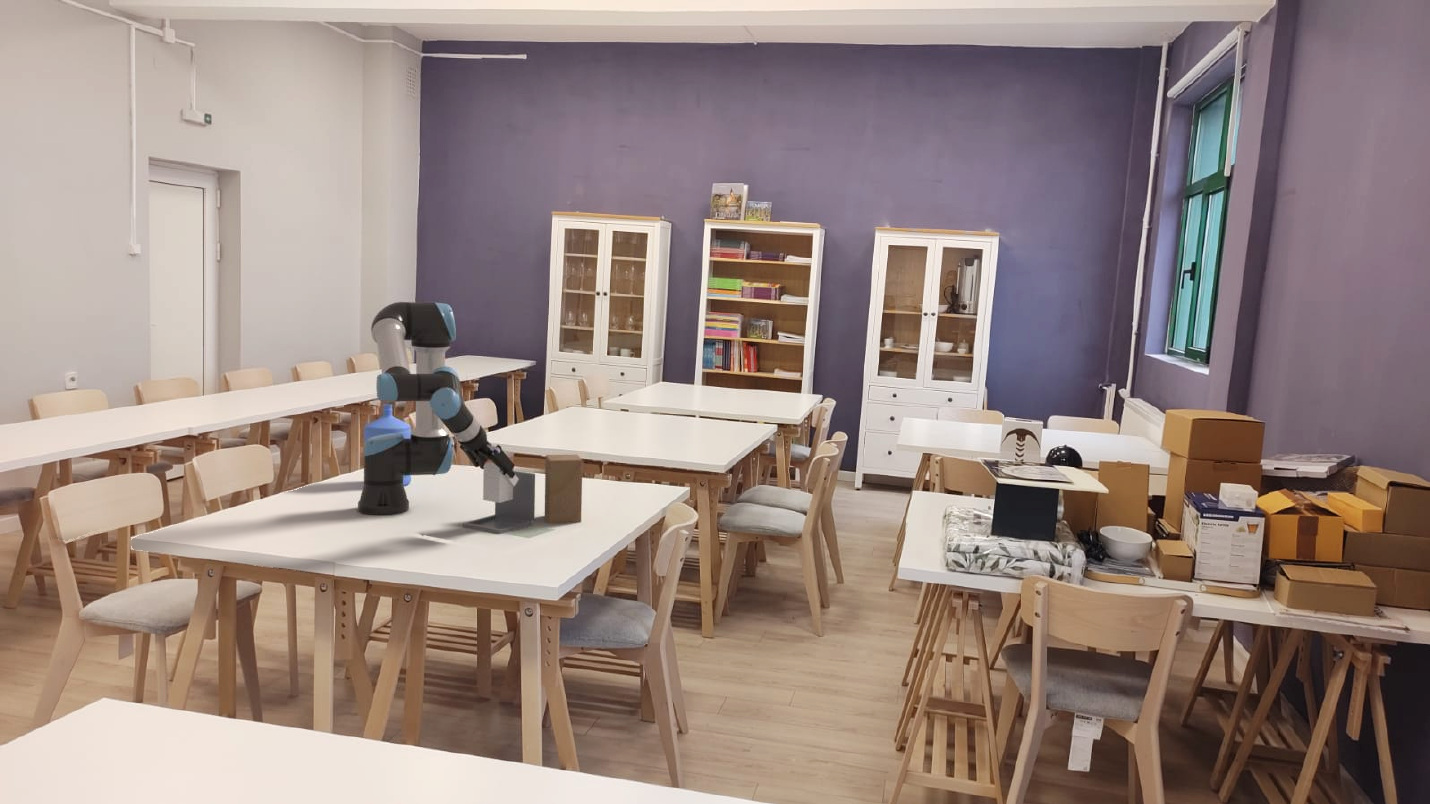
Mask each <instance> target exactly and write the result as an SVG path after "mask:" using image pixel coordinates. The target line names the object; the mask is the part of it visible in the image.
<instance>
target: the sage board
mask: <svg viewBox="0 0 1430 804" xmlns="http://www.w3.org/2000/svg"><path fill="white" fill-rule="evenodd" d="M554 531H556V529H554V528H550V527H549V528H548V527H542V526H537V525H532V526H531V525H530V526H527V527H523V528H520V529H517V530H515V531H514V530H513V531H512V532H511V531H510V532H506V534H507V535H509V536H510V535H511V536H516V537H521V538H527V539H530V538H534V537H538V536H540V535H543V534H546V533H550V532H554Z"/></svg>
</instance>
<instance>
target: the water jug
mask: <svg viewBox="0 0 1430 804" xmlns="http://www.w3.org/2000/svg"><path fill="white" fill-rule="evenodd" d="M363 428H364V429H363V439H364V441H363V443H365V441H366V440H367V439H369V438H371V437H374V436H379V435H384V434H397V433H398V434H402V435H403V436H404V439H407V438H410V437H411V431H412V429H411V425H410V424H409V423H407V422H406V421H403V420H401V419H398V418H396V417H395V416H393V404H388V403H387V404H382V416H381V417H379V418H377V419H375V420H373V421H371V422H368V423H366V424H365V425H364V427H363ZM411 481H412V475H408V476H403V486H404V487H405V486H408V485H409V484H411Z"/></svg>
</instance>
